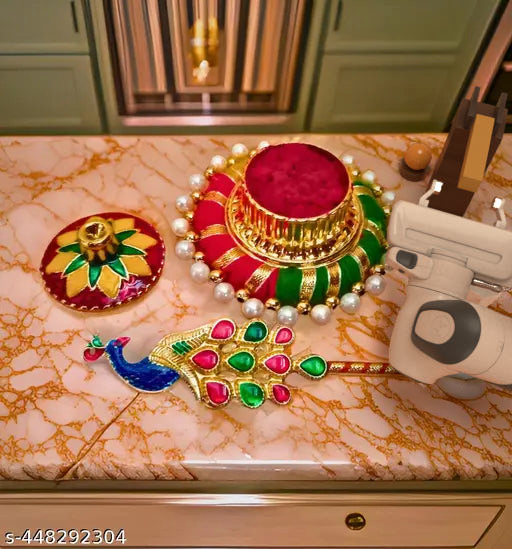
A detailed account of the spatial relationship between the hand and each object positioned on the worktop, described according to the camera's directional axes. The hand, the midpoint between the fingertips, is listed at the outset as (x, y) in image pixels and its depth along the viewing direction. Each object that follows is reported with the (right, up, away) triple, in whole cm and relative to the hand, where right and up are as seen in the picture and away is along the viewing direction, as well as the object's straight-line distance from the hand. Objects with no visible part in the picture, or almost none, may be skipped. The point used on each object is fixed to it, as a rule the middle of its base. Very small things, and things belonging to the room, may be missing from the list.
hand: (468, 189), depth 88 cm
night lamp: (+2, +10, +38) cm, 39 cm away
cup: (+7, -20, +19) cm, 28 cm away
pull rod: (+3, +6, +6) cm, 10 cm away
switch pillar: (+6, +1, +32) cm, 33 cm away
